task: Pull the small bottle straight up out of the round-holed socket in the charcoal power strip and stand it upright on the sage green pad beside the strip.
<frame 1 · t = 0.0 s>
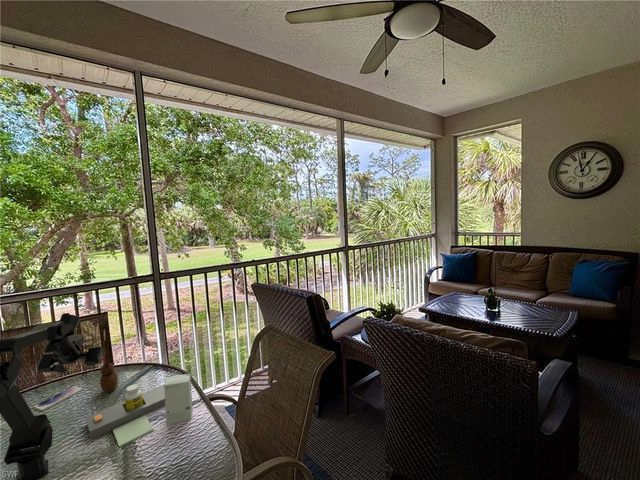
hand: (80, 370, 116), 15 cm above the table, tool tilted 35°, fingers open, 9 cm apart
smartphone: (59, 399, 124), on the table
skincare box: (180, 417, 110), on the table
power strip: (135, 411, 114), on the table
supplement bottle: (135, 412, 114), resting in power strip
wooden figurine: (110, 390, 128), on the table
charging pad: (133, 431, 104), on the table
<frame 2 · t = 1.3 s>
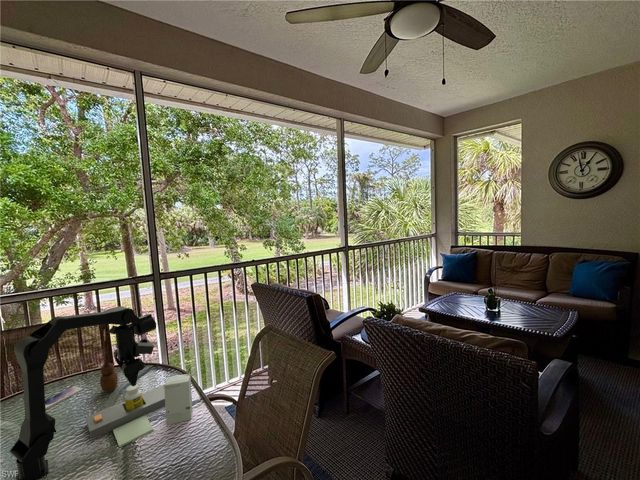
hand: (130, 380, 112), 12 cm above the table, tool pointing down, fingers open, 9 cm apart
nothing on the table moved.
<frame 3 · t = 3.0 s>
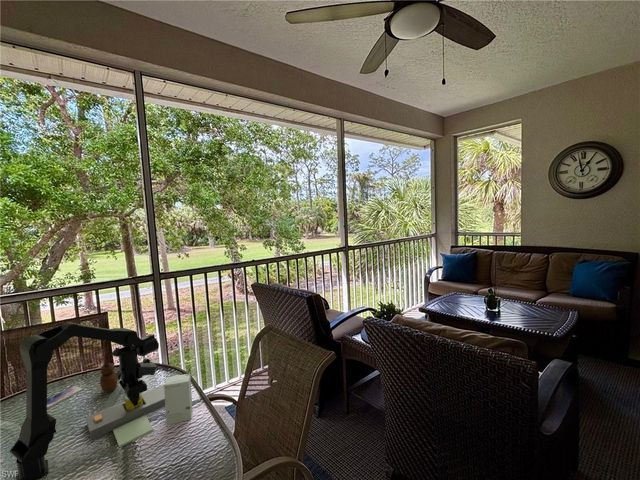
hand: (133, 401, 113), 4 cm above the table, tool pointing down, fingers closed on supplement bottle, 5 cm apart
supplement bottle: (135, 412, 114), resting in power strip, touching gripper
everything else where it was.
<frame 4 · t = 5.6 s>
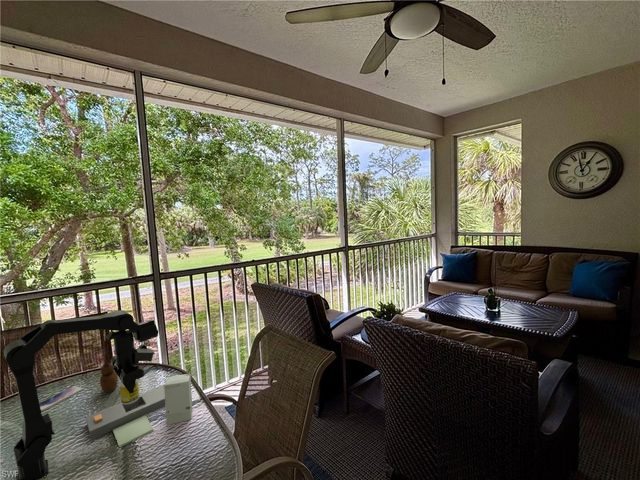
hand: (129, 389, 106), 13 cm above the table, tool pointing down, fingers closed on supplement bottle, 5 cm apart
supplement bottle: (130, 400, 107), point 8 cm above the table, touching gripper
everything else where it was.
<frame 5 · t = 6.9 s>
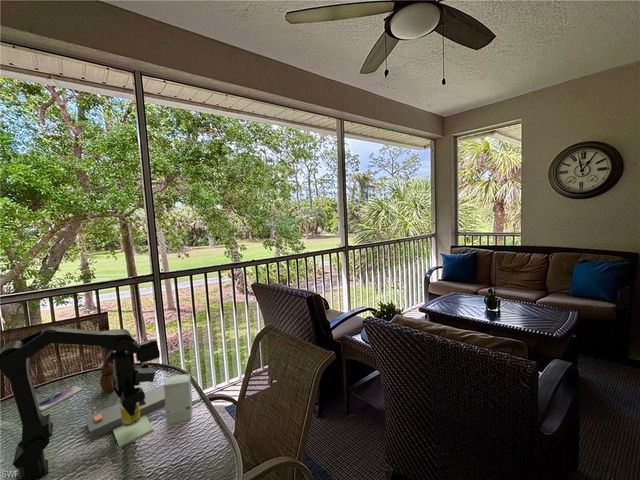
hand: (130, 411, 103), 7 cm above the table, tool pointing down, fingers closed on supplement bottle, 5 cm apart
supplement bottle: (131, 422, 103), point 3 cm above the table, touching gripper
everything else where it was.
when the fingers open (6 cm above the table, at t = 8.1 s): supplement bottle stays where it is, resting on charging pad.
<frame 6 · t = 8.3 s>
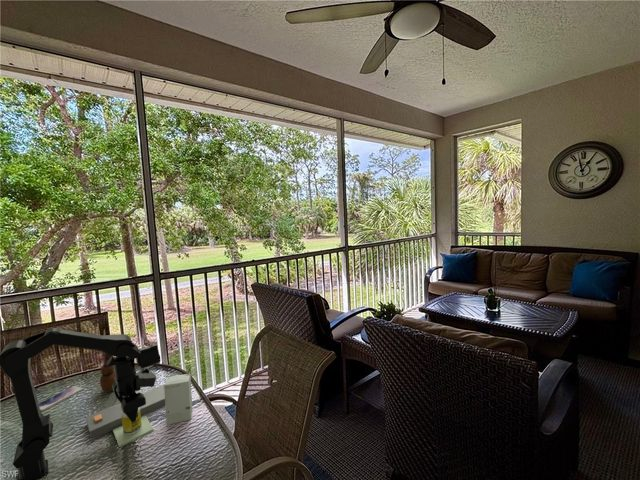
hand: (131, 416, 103), 6 cm above the table, tool pointing down, fingers open, 7 cm apart
supplement bottle: (132, 430, 104), resting on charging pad
everything else where it was.
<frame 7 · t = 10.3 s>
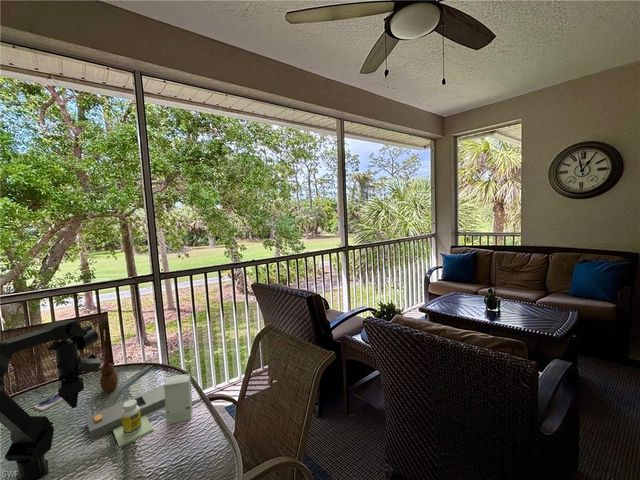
hand: (74, 400, 102), 12 cm above the table, tool pointing down, fingers open, 9 cm apart
nothing on the table moved.
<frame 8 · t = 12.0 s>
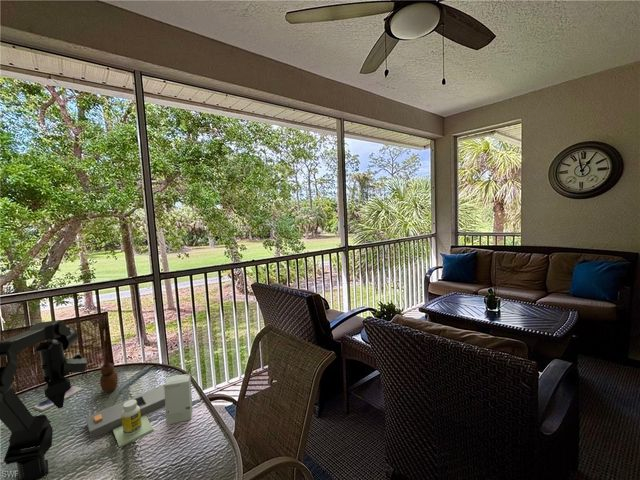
hand: (59, 401, 102), 12 cm above the table, tool pointing down, fingers open, 9 cm apart
nothing on the table moved.
at the end: supplement bottle 0.1 cm off-centre on the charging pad, point 0.4 cm above the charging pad's base; supplement bottle tilted 0°; supplement bottle touching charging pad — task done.
